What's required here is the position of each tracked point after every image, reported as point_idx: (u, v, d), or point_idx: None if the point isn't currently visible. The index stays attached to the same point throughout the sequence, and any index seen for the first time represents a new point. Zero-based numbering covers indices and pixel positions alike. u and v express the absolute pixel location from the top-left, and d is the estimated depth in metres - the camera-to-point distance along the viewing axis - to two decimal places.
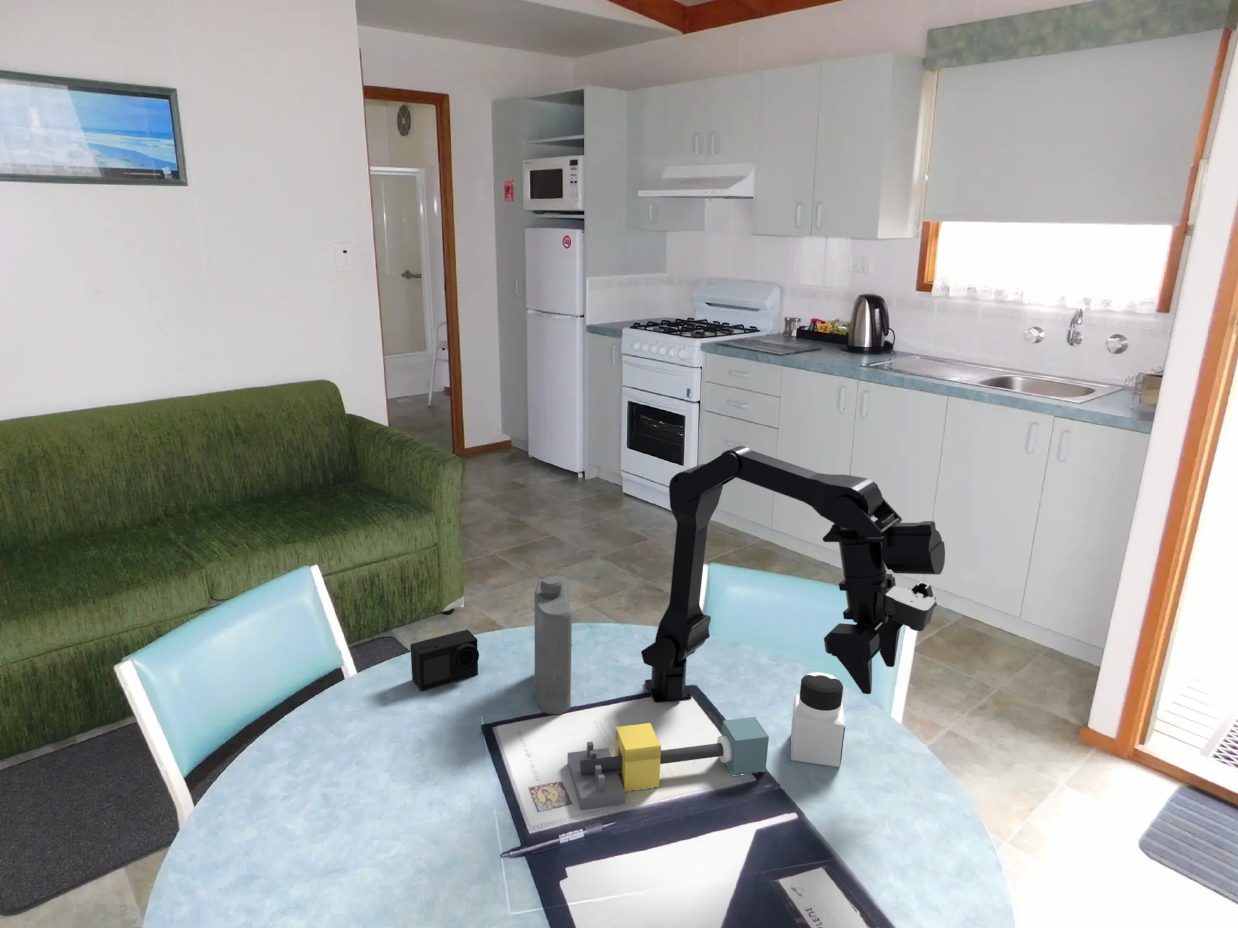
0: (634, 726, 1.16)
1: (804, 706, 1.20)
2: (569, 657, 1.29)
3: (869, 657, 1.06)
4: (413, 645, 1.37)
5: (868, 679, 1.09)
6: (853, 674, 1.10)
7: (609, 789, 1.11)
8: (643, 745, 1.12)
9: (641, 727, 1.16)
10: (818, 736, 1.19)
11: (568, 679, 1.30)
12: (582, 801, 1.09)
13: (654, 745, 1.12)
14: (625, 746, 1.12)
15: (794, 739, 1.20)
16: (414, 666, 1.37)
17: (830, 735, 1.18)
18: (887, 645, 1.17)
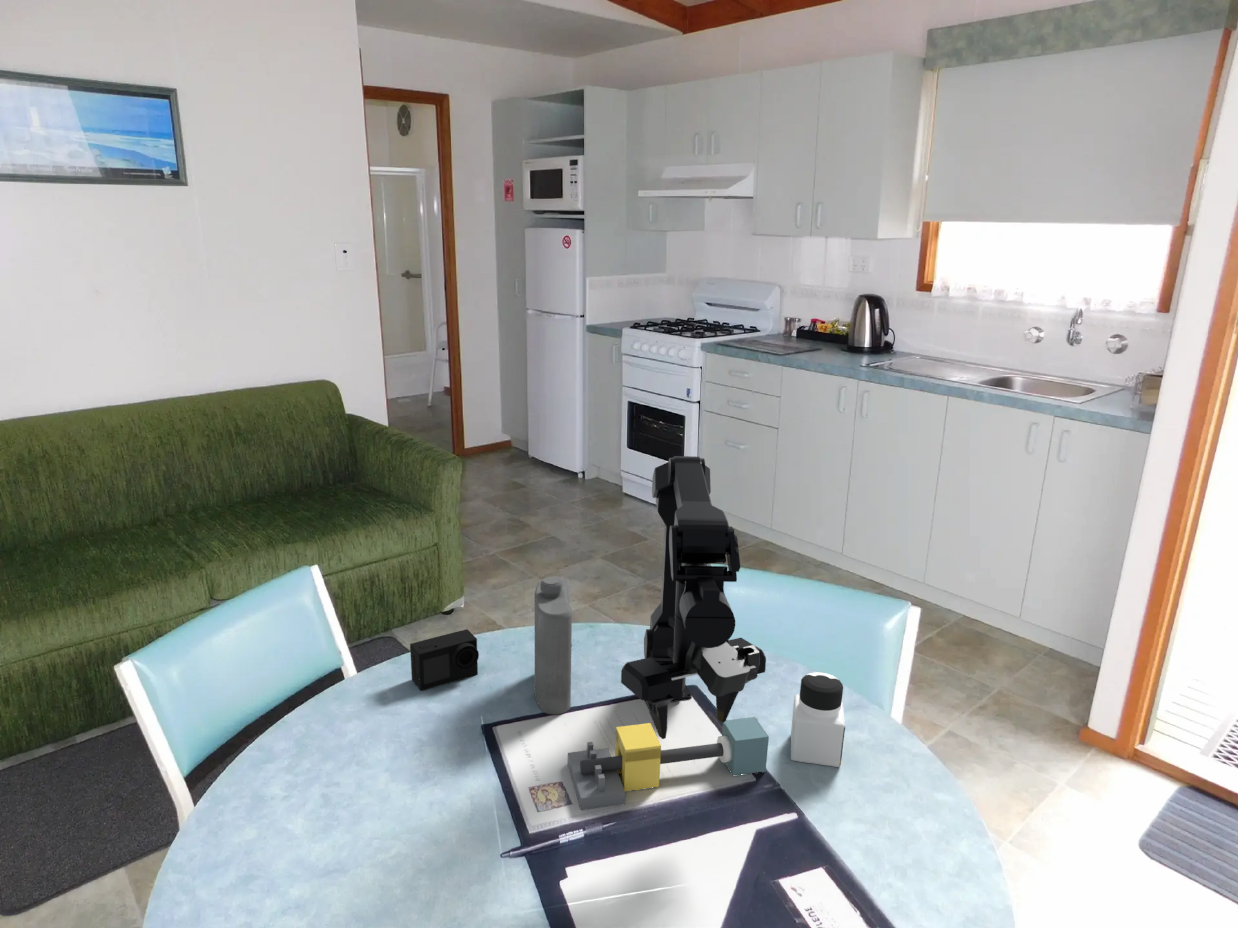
0: (634, 726, 1.16)
1: (804, 706, 1.20)
2: (569, 657, 1.29)
3: (651, 702, 0.99)
4: (413, 645, 1.37)
5: (660, 723, 1.02)
6: (651, 713, 1.03)
7: (609, 789, 1.11)
8: (643, 745, 1.12)
9: (641, 727, 1.16)
10: (818, 736, 1.19)
11: (568, 679, 1.30)
12: (582, 801, 1.09)
13: (654, 745, 1.12)
14: (625, 746, 1.12)
15: (794, 739, 1.20)
16: (414, 666, 1.37)
17: (830, 735, 1.18)
18: (722, 698, 1.07)
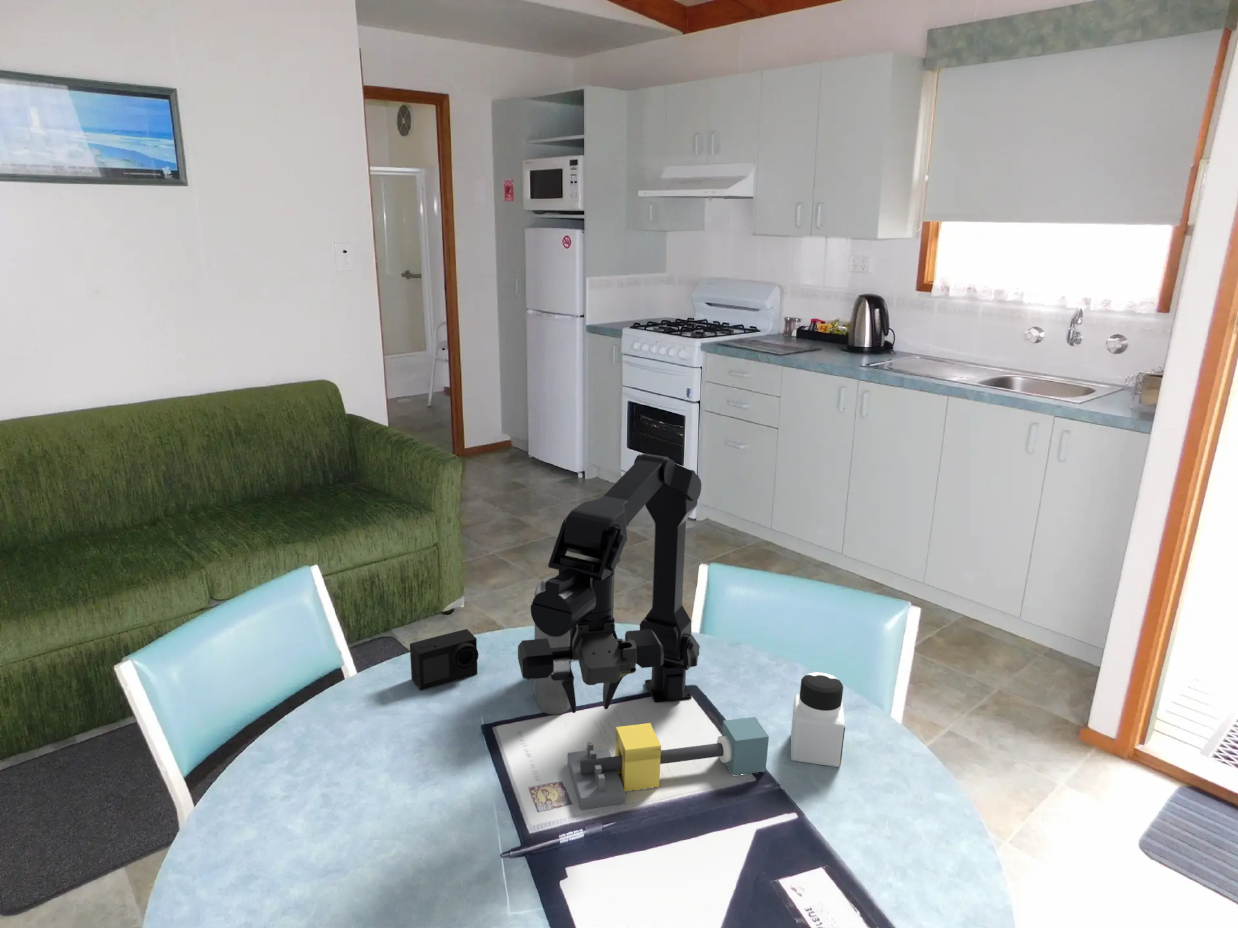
0: (634, 726, 1.16)
1: (804, 706, 1.20)
2: None
3: (551, 678, 1.06)
4: (412, 644, 1.37)
5: (568, 699, 1.09)
6: None
7: (609, 789, 1.11)
8: (643, 745, 1.12)
9: (641, 727, 1.16)
10: (818, 736, 1.19)
11: None
12: (582, 801, 1.09)
13: (654, 745, 1.12)
14: (625, 746, 1.12)
15: (794, 739, 1.20)
16: (413, 665, 1.38)
17: (830, 735, 1.18)
18: (606, 687, 1.11)
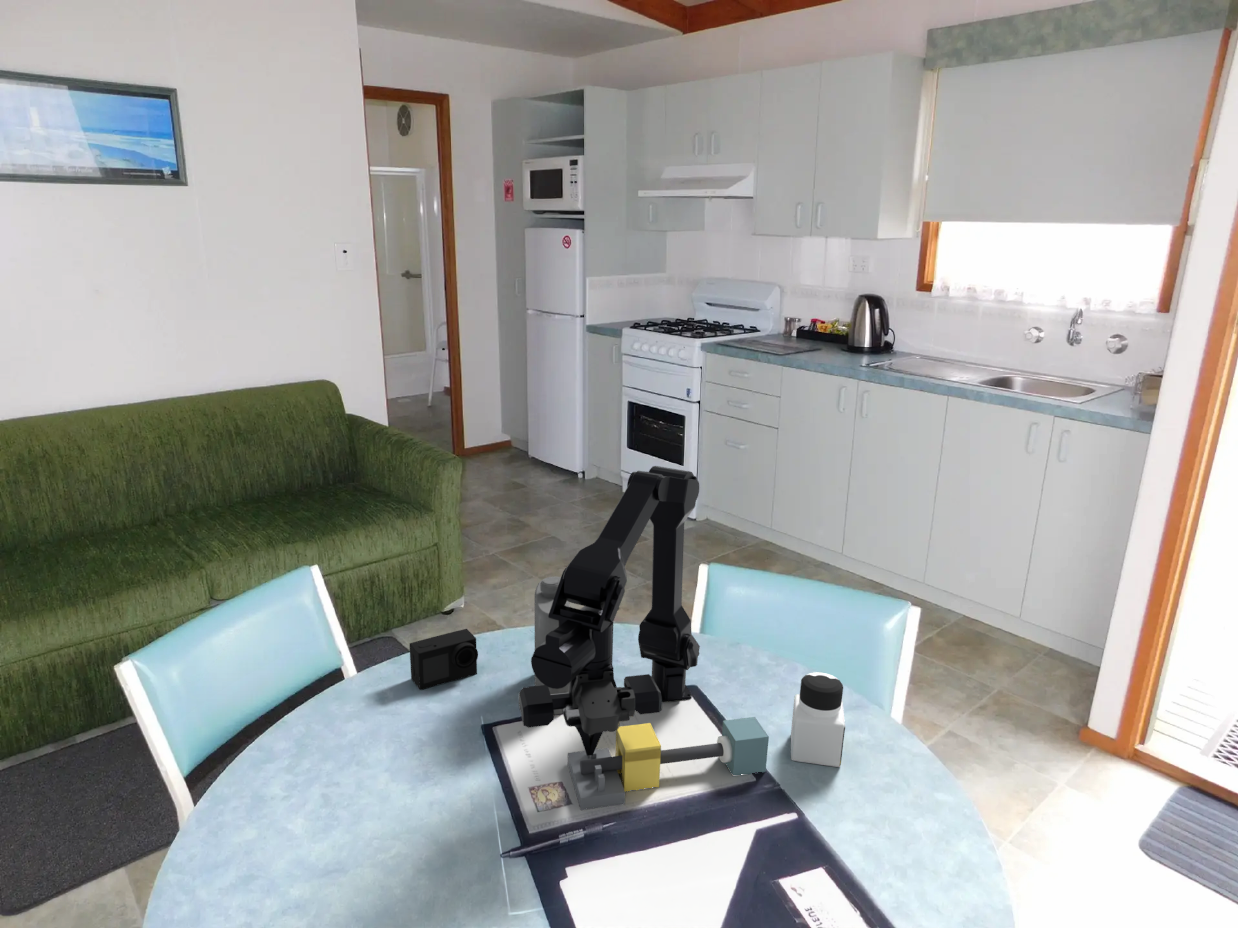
0: (634, 726, 1.16)
1: (804, 706, 1.20)
2: None
3: (567, 724, 1.08)
4: (412, 644, 1.37)
5: None
6: None
7: (609, 789, 1.11)
8: (643, 745, 1.12)
9: (641, 727, 1.16)
10: (818, 736, 1.19)
11: None
12: (582, 801, 1.09)
13: (654, 745, 1.12)
14: (625, 746, 1.12)
15: (794, 739, 1.20)
16: (413, 665, 1.38)
17: (830, 735, 1.18)
18: None
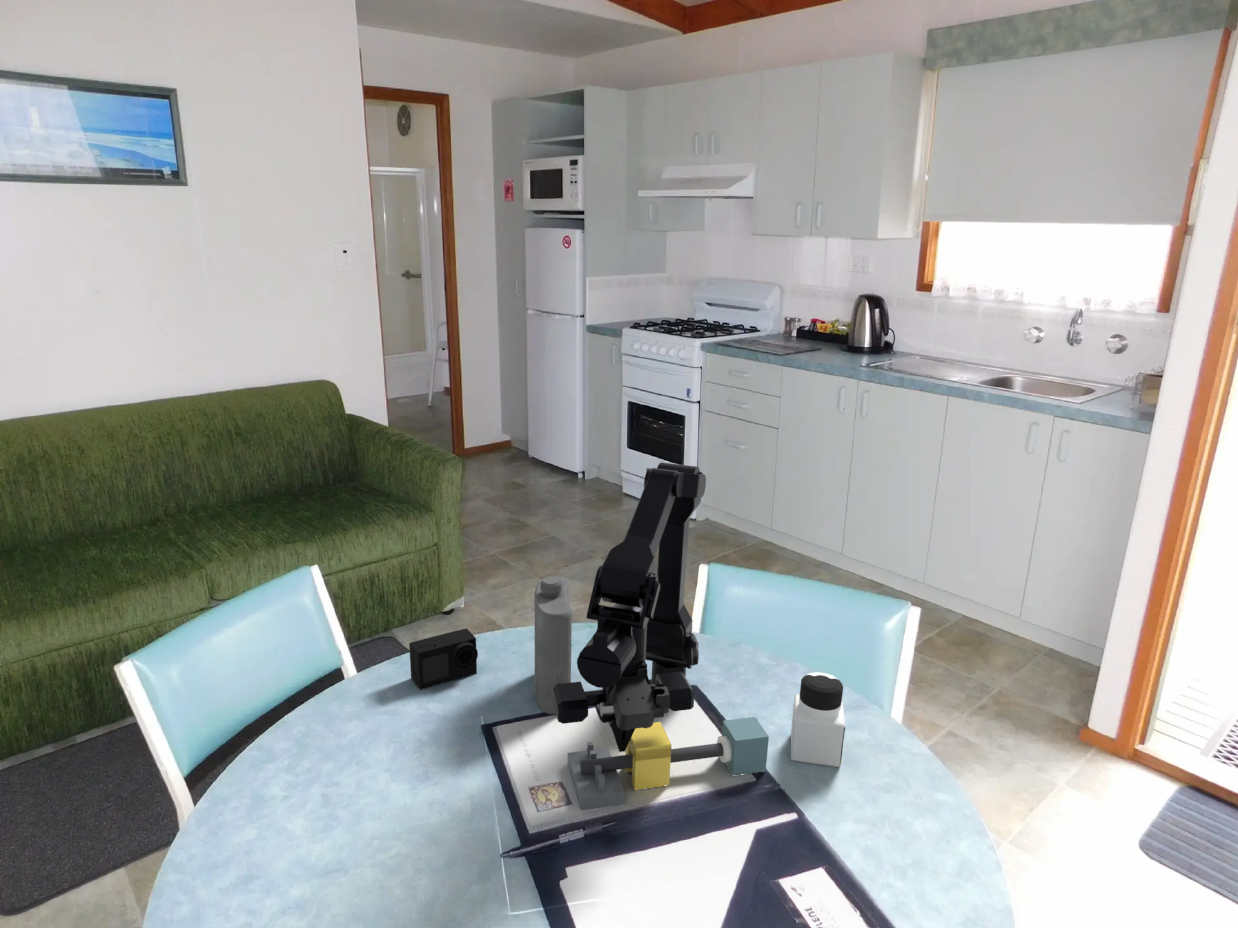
0: None
1: (804, 706, 1.20)
2: (569, 657, 1.29)
3: (601, 720, 1.09)
4: (412, 644, 1.38)
5: (615, 739, 1.13)
6: (611, 727, 1.14)
7: (609, 789, 1.11)
8: (653, 744, 1.12)
9: (651, 726, 1.17)
10: (818, 736, 1.19)
11: (568, 679, 1.30)
12: (582, 801, 1.09)
13: (664, 744, 1.13)
14: (635, 745, 1.12)
15: (794, 739, 1.20)
16: (413, 665, 1.38)
17: (830, 735, 1.18)
18: (623, 729, 1.13)
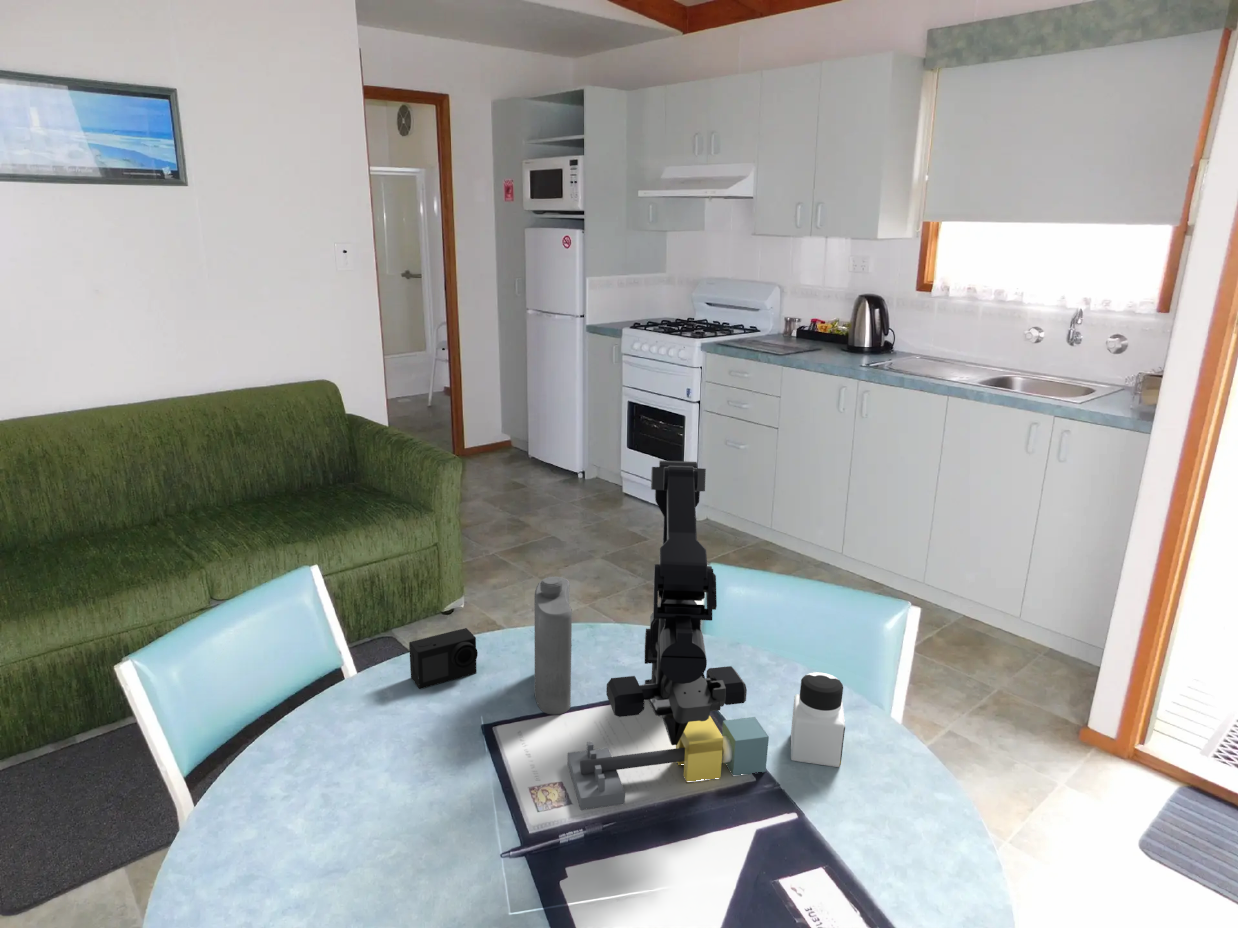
0: None
1: (804, 706, 1.20)
2: (569, 657, 1.29)
3: (656, 714, 1.11)
4: (412, 643, 1.38)
5: (668, 732, 1.14)
6: (663, 721, 1.16)
7: (609, 789, 1.11)
8: (706, 737, 1.14)
9: None
10: (818, 736, 1.19)
11: (568, 679, 1.30)
12: (582, 801, 1.09)
13: (716, 737, 1.14)
14: (688, 738, 1.14)
15: (794, 739, 1.20)
16: (413, 664, 1.38)
17: (830, 735, 1.18)
18: (675, 723, 1.15)
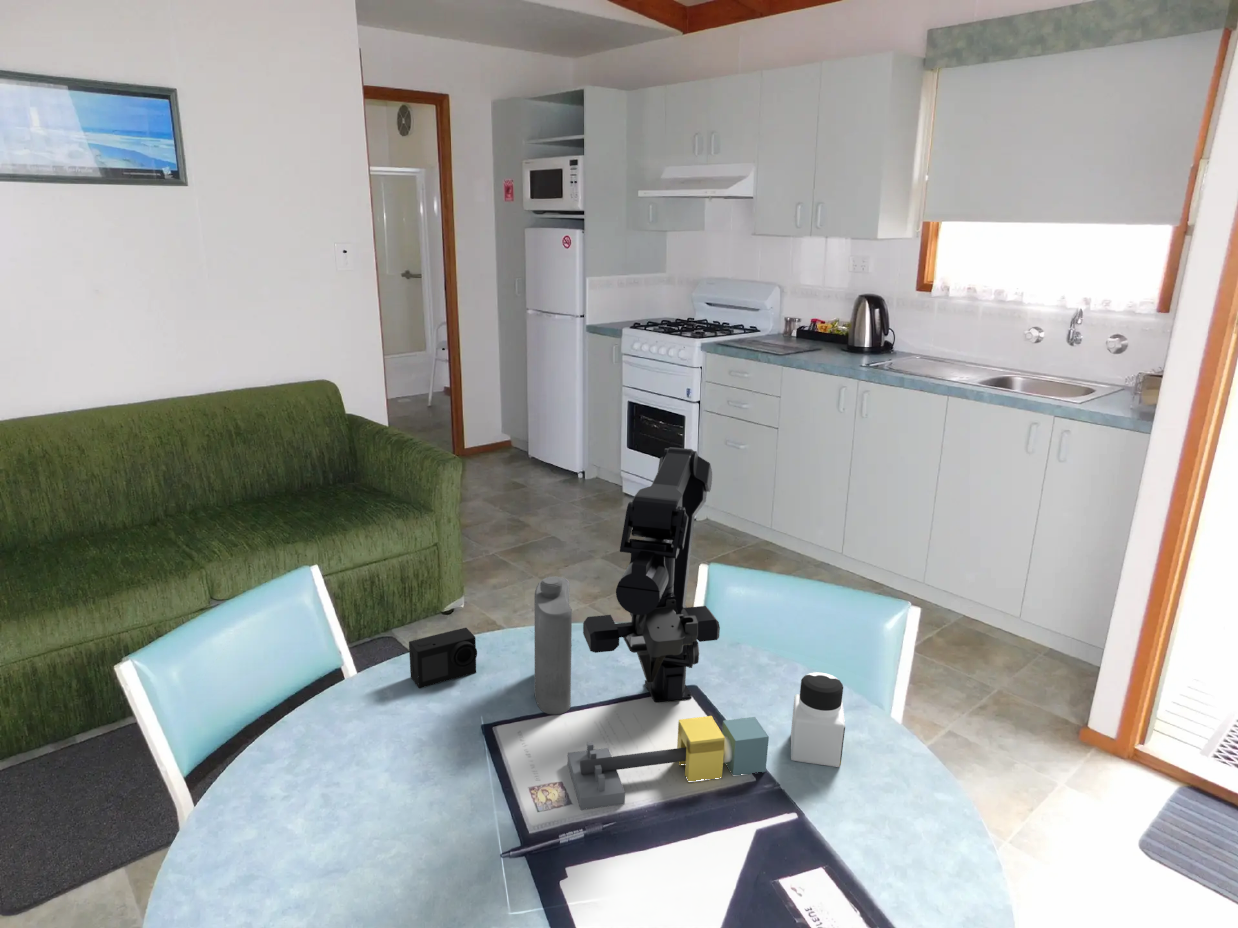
0: (696, 719, 1.19)
1: (804, 706, 1.20)
2: (569, 657, 1.29)
3: (631, 650, 1.14)
4: (411, 643, 1.38)
5: (644, 669, 1.17)
6: (639, 659, 1.19)
7: (609, 789, 1.11)
8: (707, 737, 1.14)
9: (703, 720, 1.18)
10: (818, 736, 1.19)
11: (568, 679, 1.30)
12: (582, 801, 1.09)
13: (718, 737, 1.14)
14: (690, 738, 1.14)
15: (794, 739, 1.20)
16: (412, 663, 1.38)
17: (830, 735, 1.18)
18: (651, 661, 1.18)
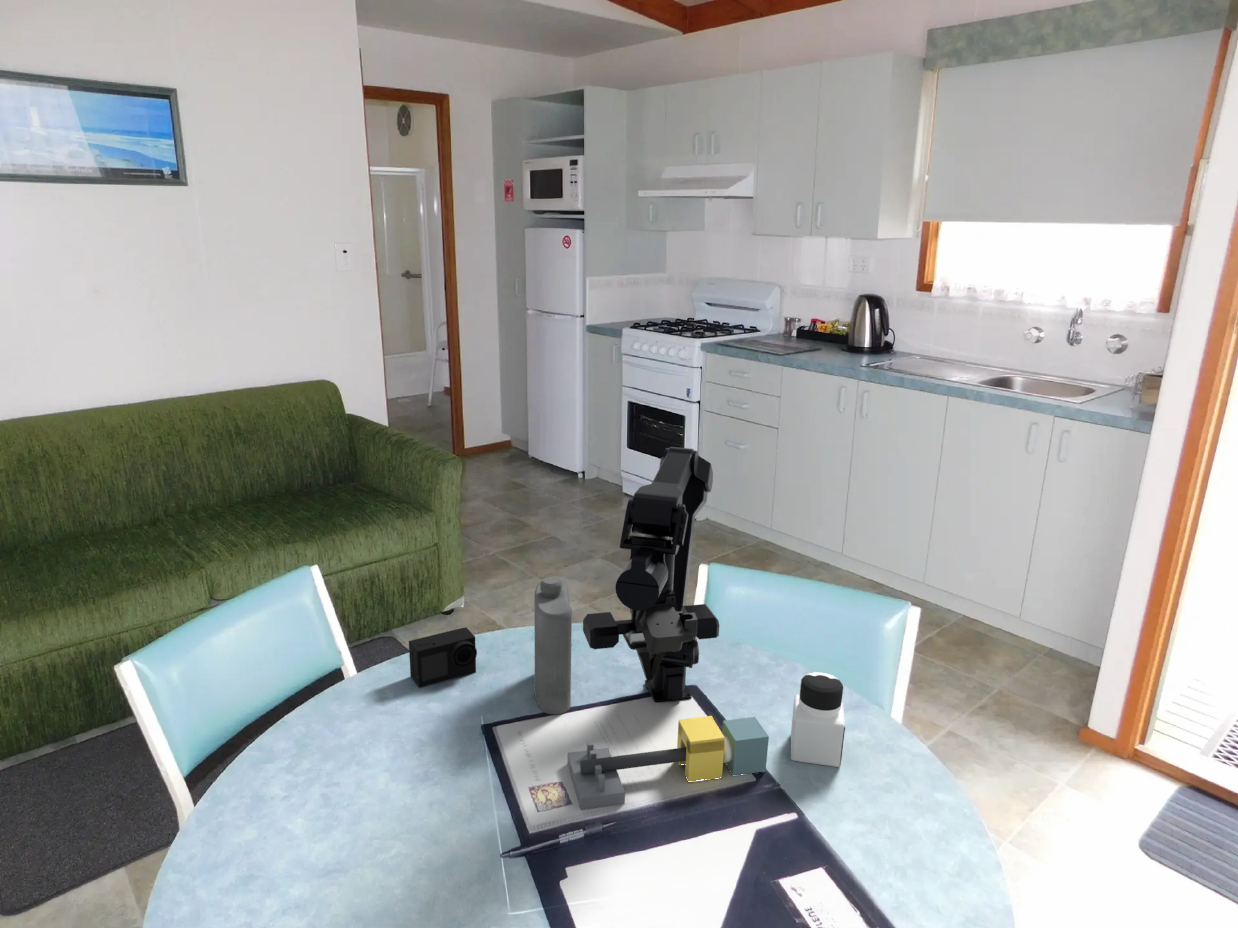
0: (696, 719, 1.19)
1: (804, 706, 1.20)
2: (569, 657, 1.29)
3: (630, 647, 1.14)
4: (411, 642, 1.38)
5: (643, 667, 1.17)
6: (639, 657, 1.19)
7: (609, 789, 1.11)
8: (707, 737, 1.14)
9: (703, 720, 1.18)
10: (818, 736, 1.19)
11: (568, 679, 1.30)
12: (582, 801, 1.09)
13: (718, 737, 1.14)
14: (690, 738, 1.14)
15: (794, 739, 1.20)
16: (412, 663, 1.38)
17: (830, 735, 1.18)
18: (651, 659, 1.18)
